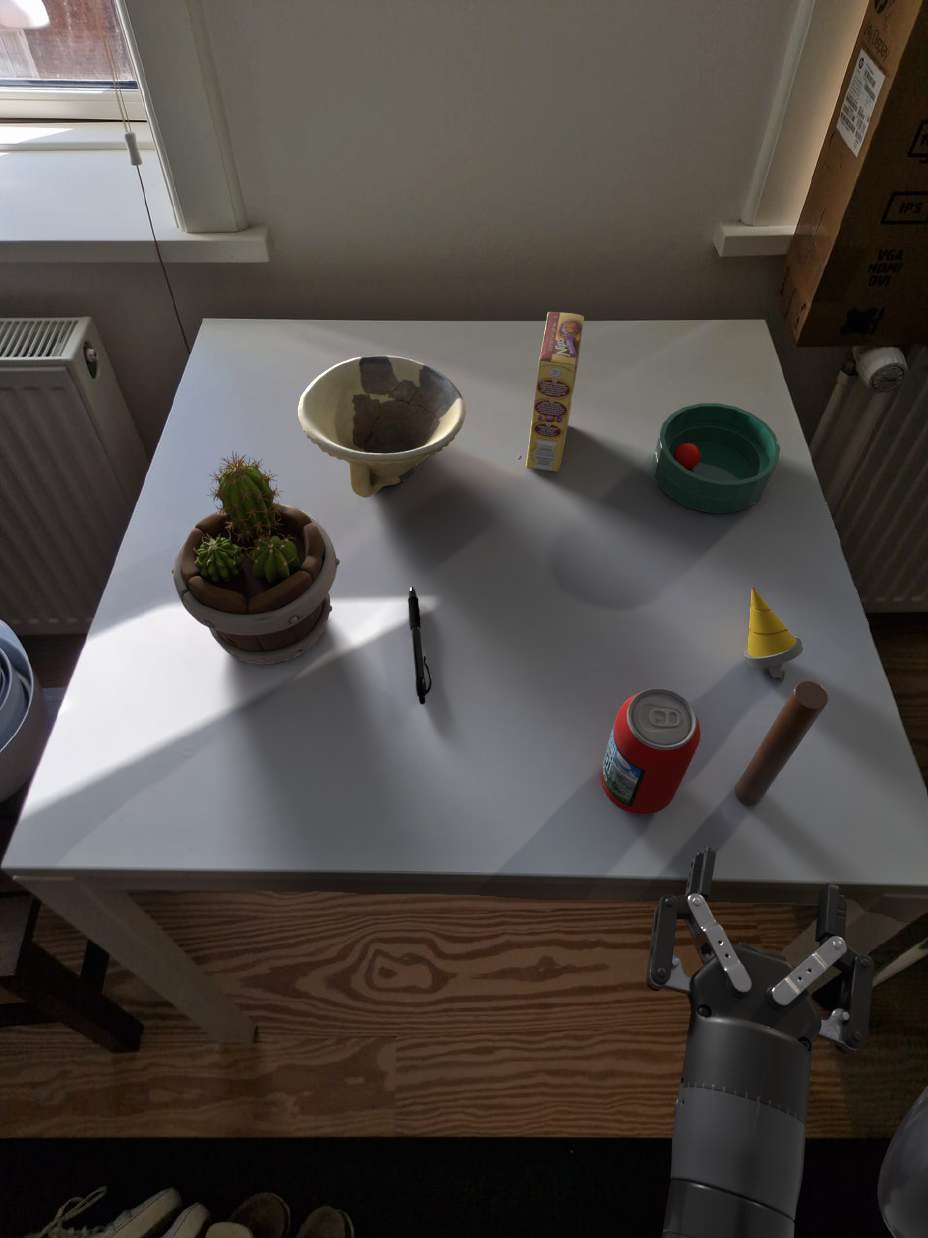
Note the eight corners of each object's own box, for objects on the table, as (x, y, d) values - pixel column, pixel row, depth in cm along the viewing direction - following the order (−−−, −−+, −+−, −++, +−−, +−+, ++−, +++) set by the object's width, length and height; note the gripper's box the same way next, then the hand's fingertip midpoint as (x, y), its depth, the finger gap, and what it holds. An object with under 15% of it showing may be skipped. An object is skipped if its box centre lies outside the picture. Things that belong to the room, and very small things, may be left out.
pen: (434, 705, 81) (434, 699, 80) (416, 707, 81) (416, 701, 80) (422, 589, 89) (422, 582, 88) (406, 591, 89) (406, 584, 88)
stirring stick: (763, 785, 76) (829, 685, 62) (760, 809, 75) (827, 712, 61) (735, 777, 77) (796, 677, 63) (732, 801, 75) (793, 703, 62)
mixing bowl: (772, 448, 102) (785, 416, 98) (760, 527, 94) (773, 495, 90) (662, 426, 104) (670, 393, 100) (642, 501, 97) (650, 468, 93)
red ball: (698, 459, 100) (704, 440, 97) (695, 477, 98) (700, 457, 96) (673, 454, 100) (678, 435, 98) (669, 471, 99) (674, 452, 96)
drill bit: (749, 697, 82) (717, 602, 80) (762, 675, 86) (733, 583, 84) (805, 690, 79) (774, 590, 77) (817, 667, 83) (787, 572, 81)
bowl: (432, 538, 93) (430, 475, 86) (285, 497, 97) (269, 433, 89) (485, 435, 103) (487, 370, 95) (349, 401, 107) (341, 335, 99)
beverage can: (596, 748, 78) (615, 679, 69) (670, 750, 78) (699, 681, 68) (601, 817, 74) (622, 754, 65) (679, 820, 74) (711, 757, 65)
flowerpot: (340, 688, 82) (311, 552, 66) (182, 683, 82) (114, 547, 66) (357, 570, 91) (334, 425, 74) (213, 566, 91) (160, 421, 75)
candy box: (562, 474, 99) (576, 365, 87) (525, 469, 100) (534, 360, 87) (570, 423, 104) (585, 313, 92) (535, 418, 105) (545, 309, 92)
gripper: (885, 1151, 48) (891, 881, 57) (635, 1066, 51) (680, 819, 60) (837, 1161, 54) (850, 915, 63) (617, 1084, 57) (660, 858, 66)
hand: (767, 869), depth 61 cm, fingers open, 8 cm apart
